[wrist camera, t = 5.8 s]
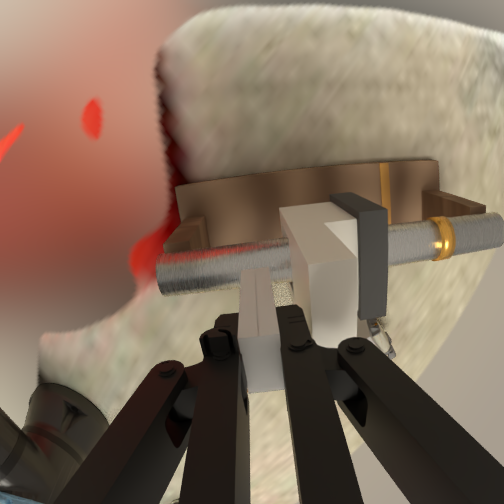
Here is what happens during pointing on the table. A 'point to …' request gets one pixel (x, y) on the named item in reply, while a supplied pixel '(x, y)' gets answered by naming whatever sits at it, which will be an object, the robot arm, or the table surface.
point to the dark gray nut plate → (369, 252)
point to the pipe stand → (306, 200)
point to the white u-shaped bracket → (323, 269)
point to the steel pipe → (279, 261)
